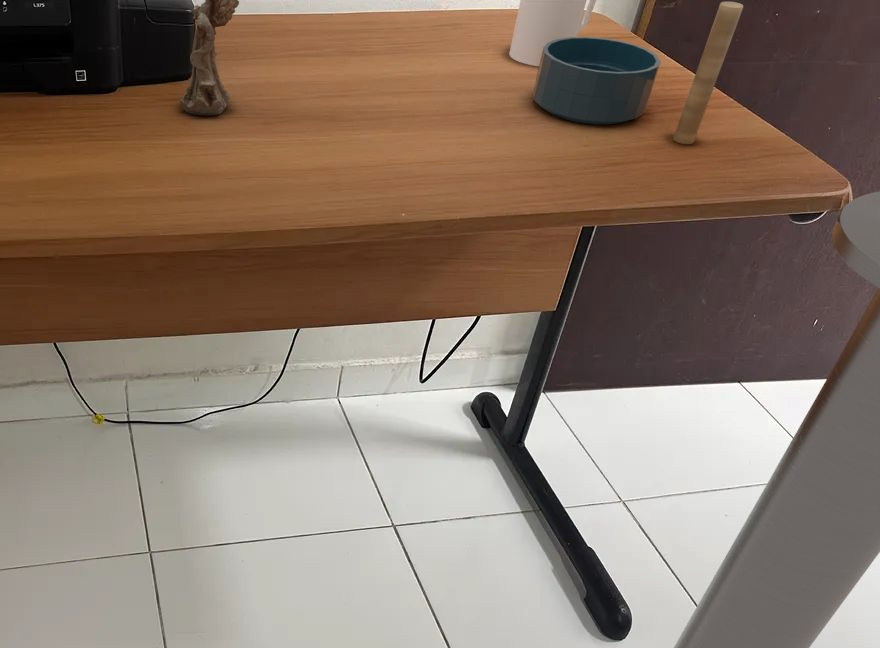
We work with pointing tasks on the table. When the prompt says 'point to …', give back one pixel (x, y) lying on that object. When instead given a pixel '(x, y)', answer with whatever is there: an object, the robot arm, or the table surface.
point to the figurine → (207, 60)
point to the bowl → (595, 79)
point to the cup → (546, 26)
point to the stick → (708, 71)
